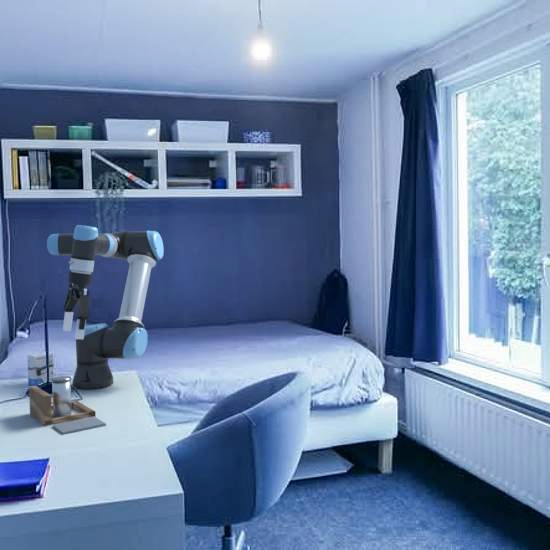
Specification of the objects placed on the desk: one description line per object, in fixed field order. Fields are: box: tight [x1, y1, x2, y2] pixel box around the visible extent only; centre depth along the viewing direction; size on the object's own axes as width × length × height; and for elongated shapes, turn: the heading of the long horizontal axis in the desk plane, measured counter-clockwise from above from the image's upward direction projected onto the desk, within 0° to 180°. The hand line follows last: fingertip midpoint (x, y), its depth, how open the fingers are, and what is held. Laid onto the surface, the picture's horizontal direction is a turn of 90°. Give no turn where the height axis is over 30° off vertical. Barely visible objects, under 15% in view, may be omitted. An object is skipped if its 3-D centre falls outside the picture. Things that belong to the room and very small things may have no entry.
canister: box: [51, 375, 73, 418], centre depth 197 cm, size 6×6×12 cm
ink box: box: [27, 351, 55, 386], centre depth 239 cm, size 8×5×12 cm, turn 143°
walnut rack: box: [28, 385, 96, 427], centre depth 197 cm, size 16×16×9 cm
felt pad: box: [52, 416, 107, 435], centre depth 185 cm, size 13×9×1 cm
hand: (72, 334), depth 205 cm, fingers open, 13 cm apart
